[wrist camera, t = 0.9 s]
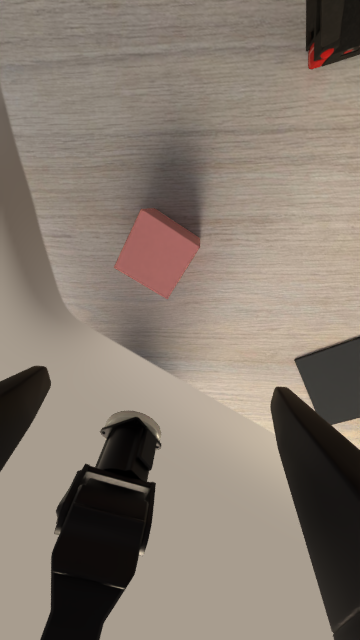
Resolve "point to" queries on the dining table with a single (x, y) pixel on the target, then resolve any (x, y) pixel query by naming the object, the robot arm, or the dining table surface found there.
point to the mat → (333, 381)
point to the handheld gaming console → (332, 31)
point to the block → (157, 251)
